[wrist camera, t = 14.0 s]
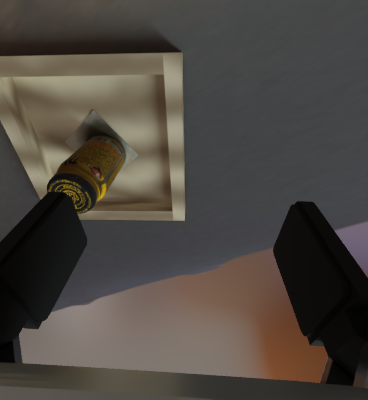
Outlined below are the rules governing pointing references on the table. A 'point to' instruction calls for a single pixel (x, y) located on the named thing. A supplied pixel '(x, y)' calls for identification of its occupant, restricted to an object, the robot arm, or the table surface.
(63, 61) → the tray
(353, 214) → the table surface
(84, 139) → the condiment
